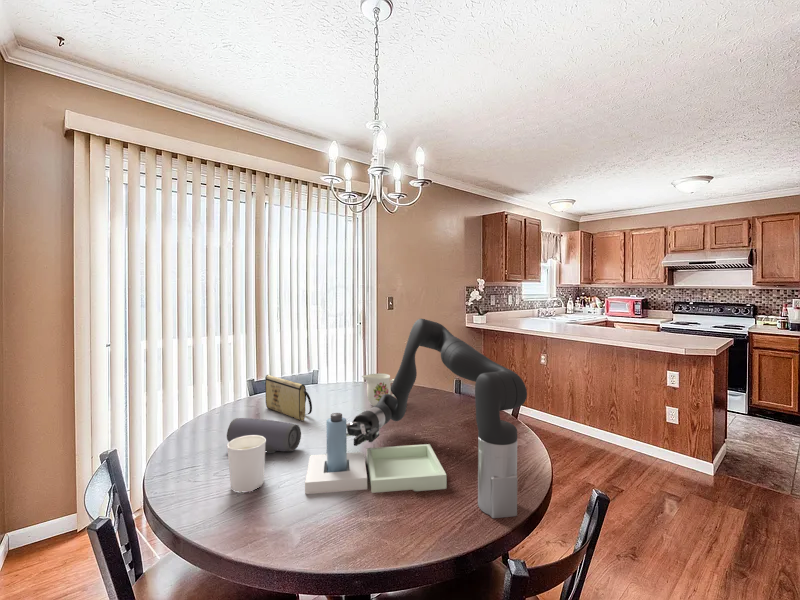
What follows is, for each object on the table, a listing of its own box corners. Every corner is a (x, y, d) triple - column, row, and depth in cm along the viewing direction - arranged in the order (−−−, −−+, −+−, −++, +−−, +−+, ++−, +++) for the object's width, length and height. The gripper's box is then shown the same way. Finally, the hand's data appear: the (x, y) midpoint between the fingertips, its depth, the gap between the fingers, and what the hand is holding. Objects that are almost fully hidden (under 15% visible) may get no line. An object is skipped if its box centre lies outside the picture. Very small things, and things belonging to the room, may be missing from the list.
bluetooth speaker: (302, 448, 128) (302, 418, 128) (287, 460, 120) (286, 428, 119) (244, 440, 135) (243, 412, 134) (225, 451, 126) (225, 421, 125)
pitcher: (403, 405, 173) (403, 375, 173) (365, 410, 167) (365, 379, 166) (395, 399, 183) (395, 370, 183) (358, 403, 177) (358, 373, 176)
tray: (446, 488, 102) (446, 474, 102) (371, 495, 99) (371, 480, 99) (429, 455, 122) (429, 444, 122) (366, 460, 119) (366, 448, 119)
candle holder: (254, 473, 111) (254, 432, 111) (273, 484, 105) (273, 440, 105) (221, 486, 104) (220, 443, 103) (239, 499, 97) (238, 453, 97)
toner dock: (367, 491, 101) (367, 477, 101) (305, 496, 99) (304, 482, 99) (363, 463, 117) (363, 451, 117) (310, 467, 115) (310, 455, 114)
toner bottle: (346, 480, 106) (346, 417, 105) (326, 482, 105) (326, 418, 104) (346, 470, 111) (346, 410, 110) (327, 472, 110) (326, 411, 110)
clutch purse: (316, 418, 157) (316, 382, 156) (302, 423, 152) (301, 385, 151) (276, 404, 176) (276, 371, 176) (262, 407, 171) (262, 374, 170)
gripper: (350, 407, 128) (321, 423, 113) (389, 413, 122) (363, 430, 107) (350, 429, 128) (321, 448, 113) (389, 436, 122) (363, 457, 107)
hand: (342, 440), depth 110 cm, fingers open, 8 cm apart
